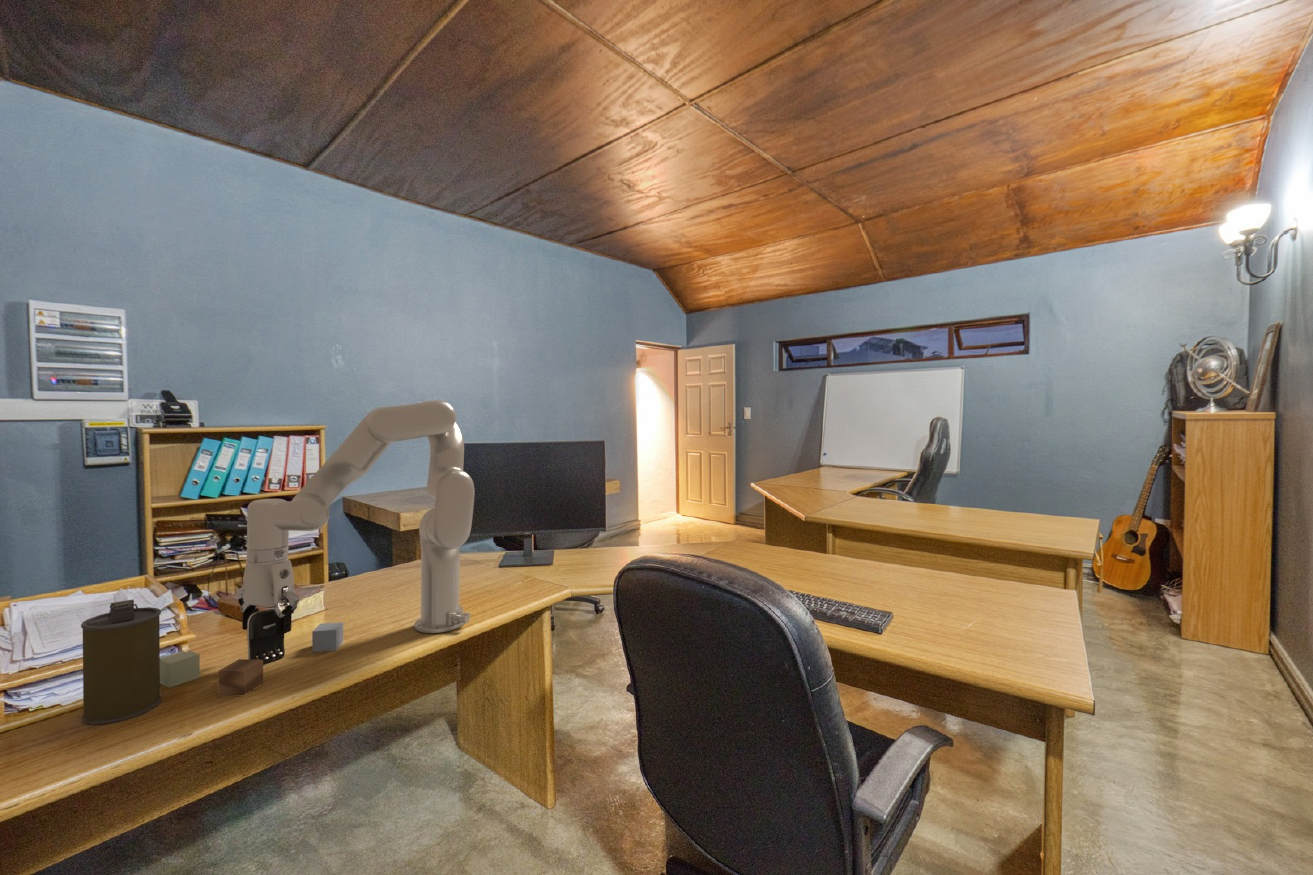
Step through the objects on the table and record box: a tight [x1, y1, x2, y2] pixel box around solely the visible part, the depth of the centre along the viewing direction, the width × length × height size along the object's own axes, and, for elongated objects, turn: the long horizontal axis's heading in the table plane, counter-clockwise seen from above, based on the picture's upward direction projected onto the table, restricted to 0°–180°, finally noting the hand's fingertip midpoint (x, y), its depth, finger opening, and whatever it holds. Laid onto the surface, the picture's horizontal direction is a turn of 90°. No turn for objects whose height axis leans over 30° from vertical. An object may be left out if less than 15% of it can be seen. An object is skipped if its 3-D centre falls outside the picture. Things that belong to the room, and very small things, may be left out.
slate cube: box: [311, 621, 344, 653], centre depth 127 cm, size 5×5×5 cm
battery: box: [246, 608, 286, 665], centre depth 119 cm, size 7×4×11 cm, turn 149°
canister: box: [80, 598, 162, 726], centre depth 98 cm, size 11×10×20 cm
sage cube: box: [160, 649, 201, 689], centre depth 110 cm, size 5×5×5 cm
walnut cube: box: [218, 658, 264, 696], centre depth 106 cm, size 5×5×5 cm
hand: (266, 630), depth 119 cm, fingers open, 9 cm apart
